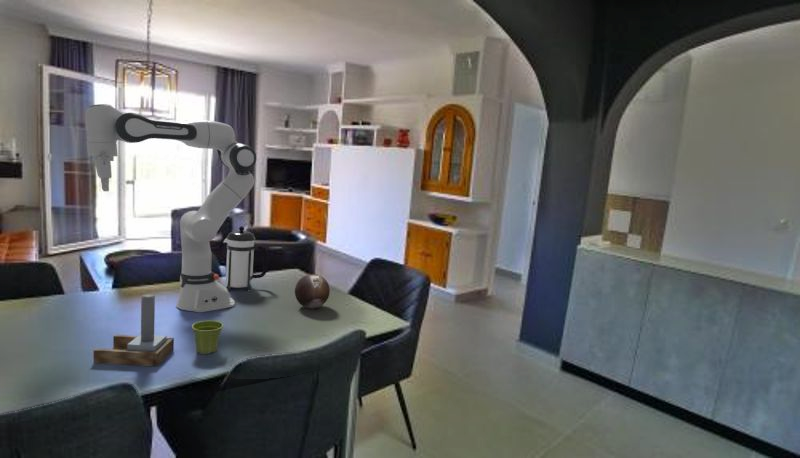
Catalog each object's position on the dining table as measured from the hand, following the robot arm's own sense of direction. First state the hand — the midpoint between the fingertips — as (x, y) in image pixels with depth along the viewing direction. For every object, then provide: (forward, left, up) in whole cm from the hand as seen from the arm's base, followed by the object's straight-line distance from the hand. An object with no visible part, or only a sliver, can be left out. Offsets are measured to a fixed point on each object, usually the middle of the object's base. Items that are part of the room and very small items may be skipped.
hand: (105, 190), depth 163 cm
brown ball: (-76, +16, -47) cm, 91 cm away
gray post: (-9, +42, -47) cm, 63 cm away
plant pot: (-26, +44, -47) cm, 69 cm away
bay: (-6, +40, -47) cm, 62 cm away
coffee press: (-57, -22, -47) cm, 77 cm away
